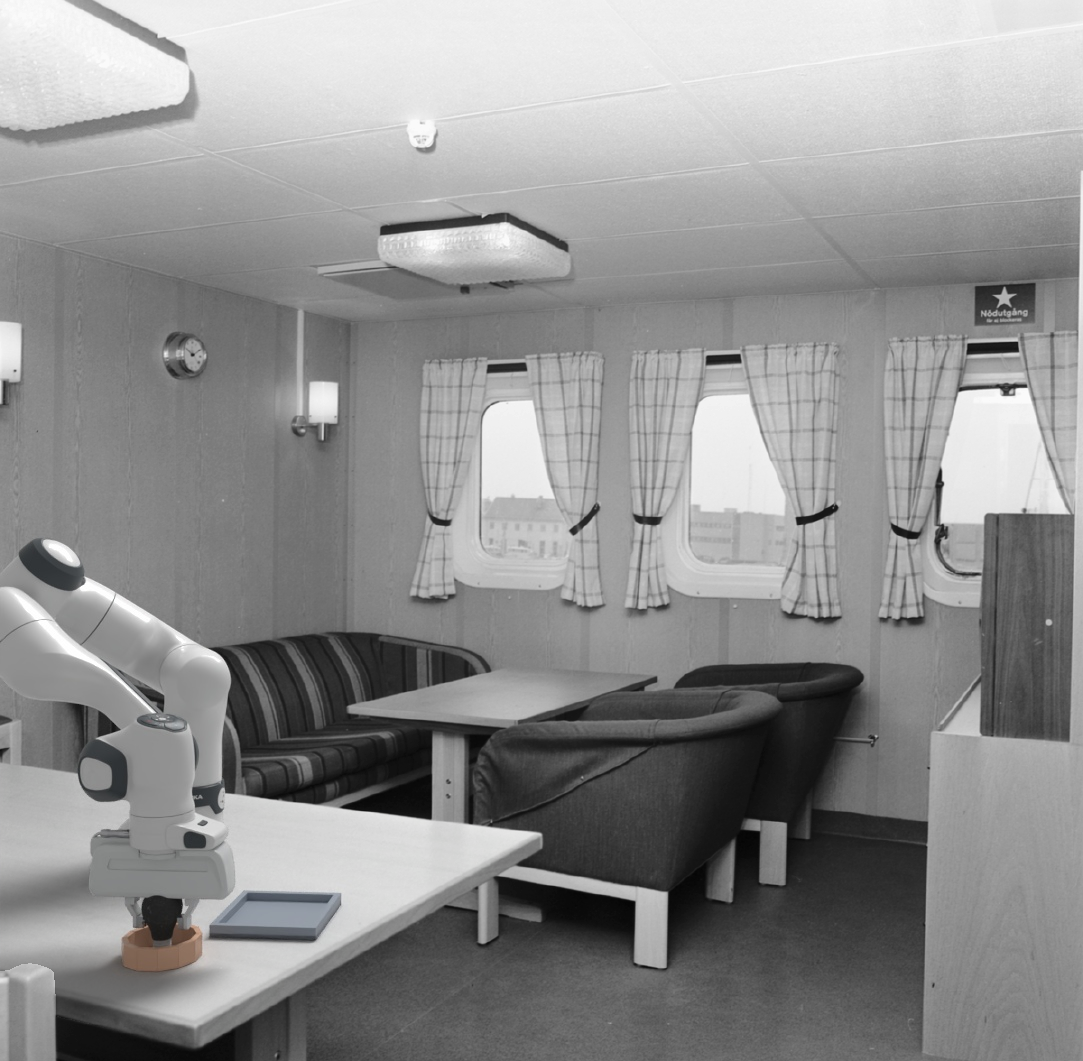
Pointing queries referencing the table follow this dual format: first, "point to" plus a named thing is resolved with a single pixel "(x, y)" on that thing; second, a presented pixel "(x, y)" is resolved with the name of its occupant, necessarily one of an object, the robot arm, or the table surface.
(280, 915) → the tray
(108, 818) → the table surface
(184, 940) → the ring
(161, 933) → the light bulb
